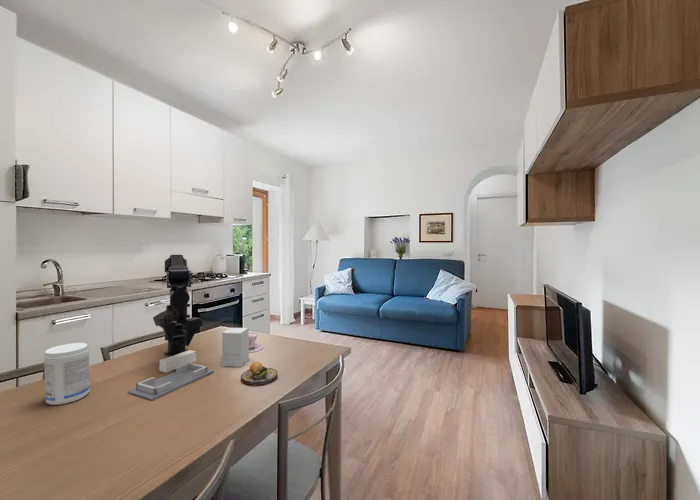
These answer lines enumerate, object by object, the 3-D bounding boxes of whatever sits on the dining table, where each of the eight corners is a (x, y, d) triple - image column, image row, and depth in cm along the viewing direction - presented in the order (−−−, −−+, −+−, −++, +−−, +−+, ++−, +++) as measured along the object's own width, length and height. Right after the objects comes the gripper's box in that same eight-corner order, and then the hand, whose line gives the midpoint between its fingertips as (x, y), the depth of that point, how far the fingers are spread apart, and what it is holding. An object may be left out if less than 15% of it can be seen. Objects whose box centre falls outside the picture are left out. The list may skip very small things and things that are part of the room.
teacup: (255, 342, 143) (255, 329, 143) (268, 349, 135) (268, 335, 134) (229, 348, 135) (229, 334, 135) (241, 355, 126) (241, 340, 126)
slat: (159, 371, 110) (159, 360, 110) (189, 360, 121) (189, 350, 121) (166, 373, 109) (166, 361, 109) (195, 361, 120) (195, 351, 120)
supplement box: (249, 360, 122) (249, 327, 121) (240, 367, 114) (240, 333, 114) (231, 359, 122) (231, 327, 122) (221, 366, 115) (221, 332, 115)
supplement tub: (93, 387, 97) (93, 340, 97) (83, 401, 88) (83, 350, 88) (52, 394, 93) (52, 344, 92) (37, 409, 84) (37, 355, 84)
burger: (281, 382, 103) (282, 359, 103) (245, 390, 97) (245, 366, 97) (271, 369, 113) (271, 349, 113) (237, 376, 107) (237, 354, 107)
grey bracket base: (127, 393, 94) (127, 385, 94) (191, 367, 114) (191, 360, 114) (151, 400, 89) (151, 392, 89) (213, 372, 109) (213, 365, 109)
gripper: (139, 303, 111) (139, 346, 111) (176, 308, 104) (176, 355, 104) (169, 298, 121) (169, 338, 122) (204, 302, 114) (203, 345, 114)
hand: (178, 344), depth 115 cm, fingers open, 9 cm apart
